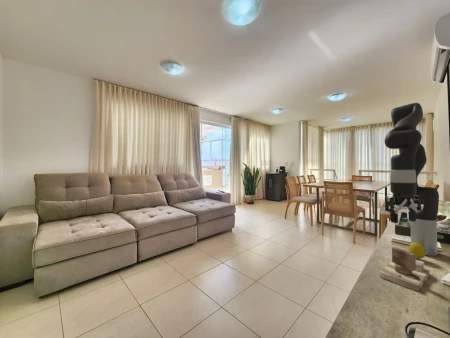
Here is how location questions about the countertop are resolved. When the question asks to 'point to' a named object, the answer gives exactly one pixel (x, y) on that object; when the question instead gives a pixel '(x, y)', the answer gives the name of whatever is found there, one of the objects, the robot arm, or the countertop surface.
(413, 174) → the robot arm
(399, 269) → the peg
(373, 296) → the countertop surface
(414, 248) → the lemon
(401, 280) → the tuner board
